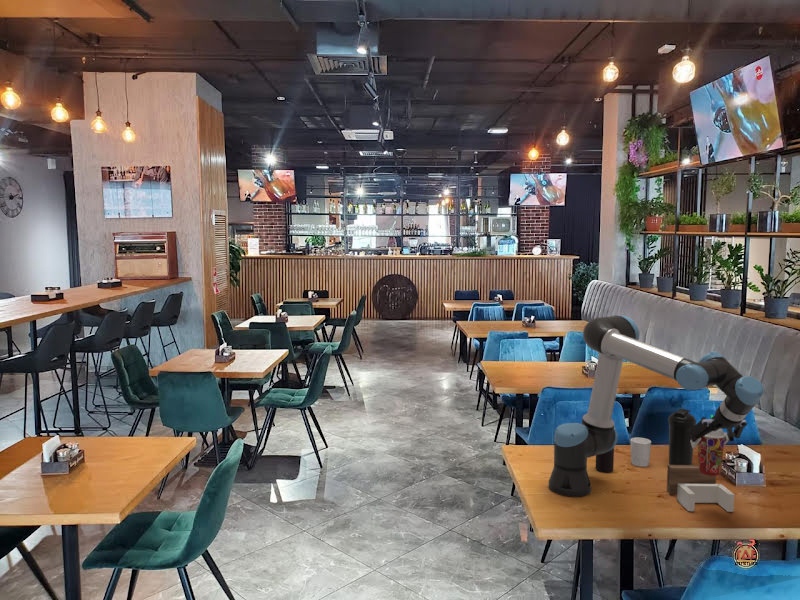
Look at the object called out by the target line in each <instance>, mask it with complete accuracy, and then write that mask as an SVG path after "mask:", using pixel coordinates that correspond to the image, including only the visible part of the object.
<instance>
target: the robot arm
mask: <svg viewBox="0 0 800 600" xmlns="http://www.w3.org/2000/svg"><path fill="white" fill-rule="evenodd" d="M582 335H583V336H582V339H583V341H584V342H585V345H586V346H587V347H588V348H590V349H591V350H593V351H595V352H597V353H598V358H597V362H596V363H597V364H596V366H595V367H596V369H595V374H594V377H593V378H594V379H593V384H592V390H591V394H590V400H589V403H588V404H589V405H588V409H587V413H585V414H583V416H582V418H581V423H579V422H570V423H569V422H566V423H562V424H560V425H557V427H556V428H555V431H554V436H553V450H554V451H553V453H554V454H553V469H552V471H551V474H550V478H549V479H548V489H549V490H550V491H551V492H553V493H554V494H558V495H560V496H564V497H570V498H571V497H573V498H575V497H576V498H577V497H585V496H587V495H588V496H589V495H590V493H592V483H591V480H590V476H589V473H588V469H587V468H588V467H587V466H588V465H587V464H588V458H591V457H594V456H595V457H596V455H599V454H604V453H606V452H608V451H610V450H612V449H613V448H614V449H615V447H616V445H617V444H618V440H619V434H618V431H617V428H616V426H615V424H616V423H615V421H614V420H613V419H612V417H613V413H614V407H615V402H616V398H617V392H618V387H619V382H620V377H621V372H622V367H623V362H624V361H627V362H630V363H632V364H634V365H637V366H639V367H641V368H644V369H647V370H649V371H652V372H654V373H656V374H659V375H662V376H664V377H666V378H669V379H671V380H673V381H677V383H678V385H679V386H680V387H681V388H683V390H688V391H698V390H702V389H704V388H708V387H711V386H716V387H717V388H719V390H720V391H721V392H722V393H723V394H724V395H725V396H726V397H725V398H724V399H723V400H722V401H721V403H720V404H719V406H718V407H717V408H716V409H715V412H714V415H713V417H712V418H711V417H710V418H707V417H706V416H703V417H701V418H700V420H699V421H698V422H696V425H695V426H694V427H693V428H692V429H691V430H689V432H690V435H691V441H690V442H691V445H692V448H693V449H695V448H696V447H698V443H699V442H700V441H701V437H703V436H705V435H706V434H708V433H710V432H712V431H717V430H718V429H722V430H723V429H724V430H726V432H724V431H723V432H724V434H725V440H724V446H725V445H727V443H729V442H734V441H735V439H740V438H741V435H742V433H743V432H744V431H743V430H745V429H744V428H745V427H747V425H748V423H747V420H746V416H748V414H749V413H750V411H752V409H753V408H754V407H755V406H756V405H757V404H758V403H759V402H760V400H761V398H762V397H763V395H764V393H765V388H764V386H763V384H762V382H761V381H760V380H759V379H756V378H755V377H753V376H751V375H748V376H747V375H745V376H744V375H742V374H741V373H740V372H739V371H738V369H736V368H735V367H734V366H733V365H732V364H731V363H730V362H729V360H728V359H727V358H726V357H724V356H723V355H722V354H721V353H719V352H718V351H716V350H714V351H710V352H709V353H706V354H705V355H703V356H702V357H701V358H700V359H699V360H698V362H697V361H694V360H692V359H689V358H686V357H683V356H681V355H679V354H676V353H673V352H670V351H668V350H665V349H661V348H659V347H656V346H654V345H652V344H649V343H646V342H643V341H641V340H639V337H640V330H639V327H638V325H637V324H636V323H635V320H633V319H632V318H631V317H629V316H626V315H619V314H618V315H617V314H616V315H613V316H602V317H594V318H593V319H591V320H589V321H588V322H587V323H586V324H585V326H584V328H583V332H582ZM733 428H734V429H733Z"/></svg>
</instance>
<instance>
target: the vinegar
mask: <svg viewBox="0 0 800 600" xmlns="http://www.w3.org/2000/svg"><path fill="white" fill-rule="evenodd" d="M614 452H615V447H614V448H613V449H612V450H610V451H608V452H606V453H604V454H599V455H595V470H596V471H597V472H600V473H605V474H609V473H612V472H614V461H615V460H614V459H615V453H614Z"/></svg>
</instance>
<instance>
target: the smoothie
mask: <svg viewBox="0 0 800 600" xmlns="http://www.w3.org/2000/svg"><path fill="white" fill-rule="evenodd" d="M712 417H714V415H713V414H711V415H710V419H711V418H712ZM724 440H725V434H724V430H723V429H718V430H717V431H712V432H710V433H708V434H706V435H705V436H703V437H701V441H700V442H699V443H698V445H697V461H698V462H697V465H698V468H699V469H700V472H701V473H702V474H705V475H709V476H716V477H717V476H718V475H719V474H720V473H721V472H722V464H723V463H722V462H723V455H724V447H725V445H724Z"/></svg>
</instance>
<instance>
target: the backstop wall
mask: <svg viewBox="0 0 800 600" xmlns="http://www.w3.org/2000/svg"><path fill="white" fill-rule="evenodd" d="M666 474H667V475H666V493H668V495H670V496H677V490H678V484H717V476H709V475H705V474H702V473H701V472H700V469H699V468H698V464H692V465H669V464H667V472H666Z"/></svg>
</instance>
